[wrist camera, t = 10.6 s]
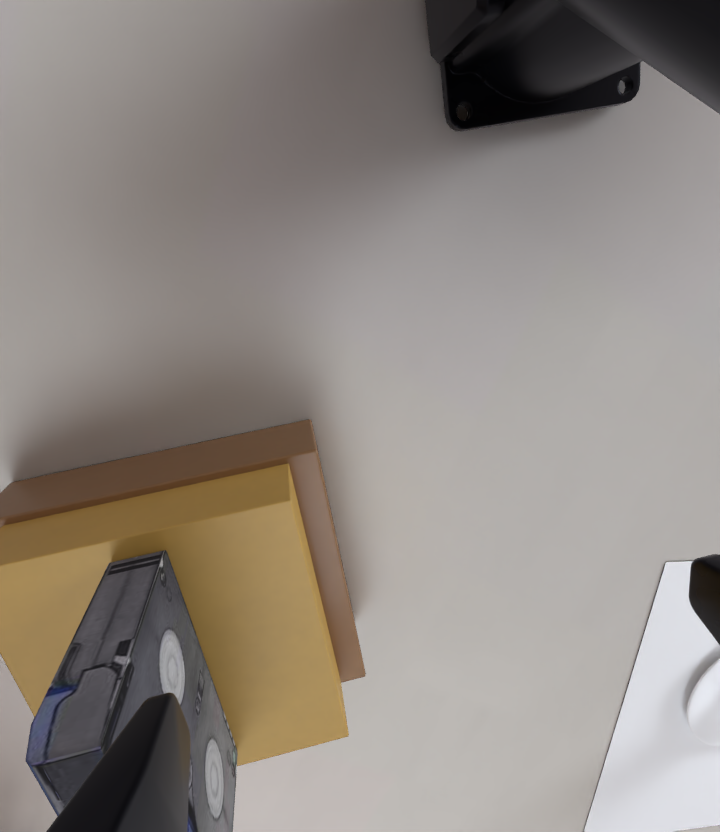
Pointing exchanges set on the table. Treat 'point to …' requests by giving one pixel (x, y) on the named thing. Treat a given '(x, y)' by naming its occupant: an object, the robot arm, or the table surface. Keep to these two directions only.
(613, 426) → the table surface
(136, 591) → the mini dv tape
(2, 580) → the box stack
